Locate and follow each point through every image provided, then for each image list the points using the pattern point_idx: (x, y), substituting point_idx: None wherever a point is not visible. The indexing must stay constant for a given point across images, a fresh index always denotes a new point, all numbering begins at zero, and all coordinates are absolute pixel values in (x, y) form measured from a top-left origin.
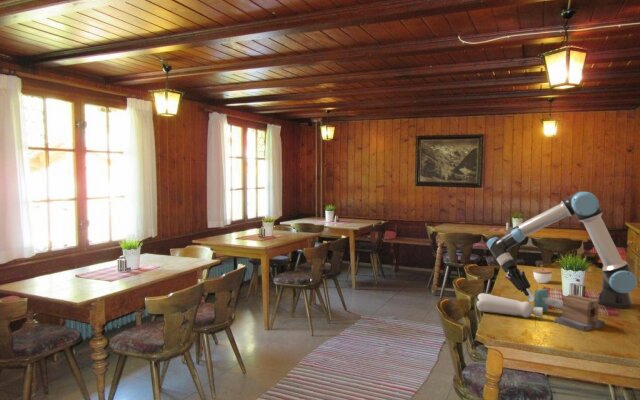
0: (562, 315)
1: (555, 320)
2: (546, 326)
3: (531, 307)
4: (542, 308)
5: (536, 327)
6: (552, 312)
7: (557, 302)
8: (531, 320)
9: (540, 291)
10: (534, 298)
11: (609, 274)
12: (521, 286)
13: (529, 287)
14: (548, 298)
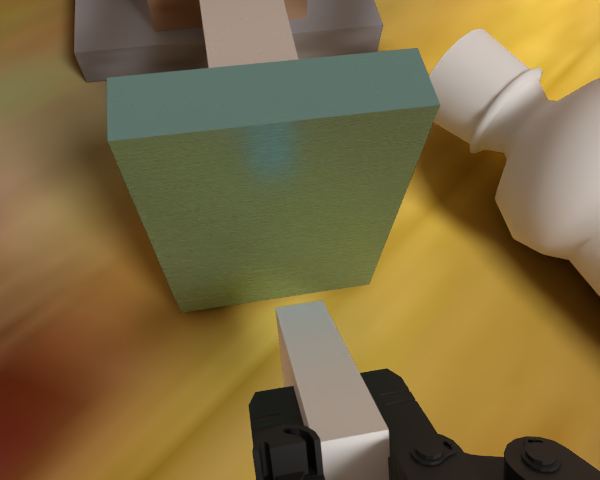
0: (306, 2)
1: (377, 37)
2: (507, 20)
3: (567, 95)
4: (476, 30)
5: (596, 27)
6: (150, 243)
7: None
8: None
9: (356, 58)
10: (299, 310)
11: None
12: (546, 476)
13: (287, 427)
14: (287, 49)
